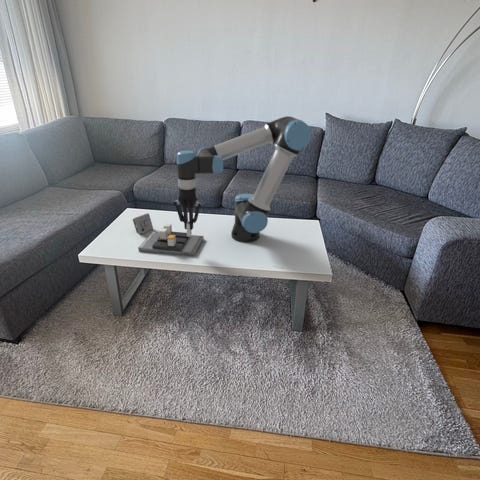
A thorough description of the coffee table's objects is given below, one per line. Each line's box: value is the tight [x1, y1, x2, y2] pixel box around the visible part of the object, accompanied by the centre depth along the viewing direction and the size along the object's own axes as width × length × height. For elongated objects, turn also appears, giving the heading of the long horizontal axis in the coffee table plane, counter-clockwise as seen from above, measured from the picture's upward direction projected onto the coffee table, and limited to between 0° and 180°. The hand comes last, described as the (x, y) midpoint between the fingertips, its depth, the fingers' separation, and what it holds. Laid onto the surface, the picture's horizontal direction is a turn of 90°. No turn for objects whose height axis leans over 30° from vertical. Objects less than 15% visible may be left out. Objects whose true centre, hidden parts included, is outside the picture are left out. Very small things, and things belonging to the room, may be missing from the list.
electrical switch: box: [132, 213, 154, 235], centre depth 179 cm, size 9×5×9 cm, turn 141°
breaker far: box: [163, 223, 173, 234], centre depth 170 cm, size 3×3×4 cm
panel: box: [137, 231, 205, 258], centre depth 166 cm, size 28×18×4 cm, turn 81°
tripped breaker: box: [167, 235, 176, 246], centre depth 159 cm, size 3×3×4 cm
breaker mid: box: [158, 227, 168, 240], centre depth 165 cm, size 3×3×4 cm
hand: (189, 235), depth 156 cm, fingers closed
